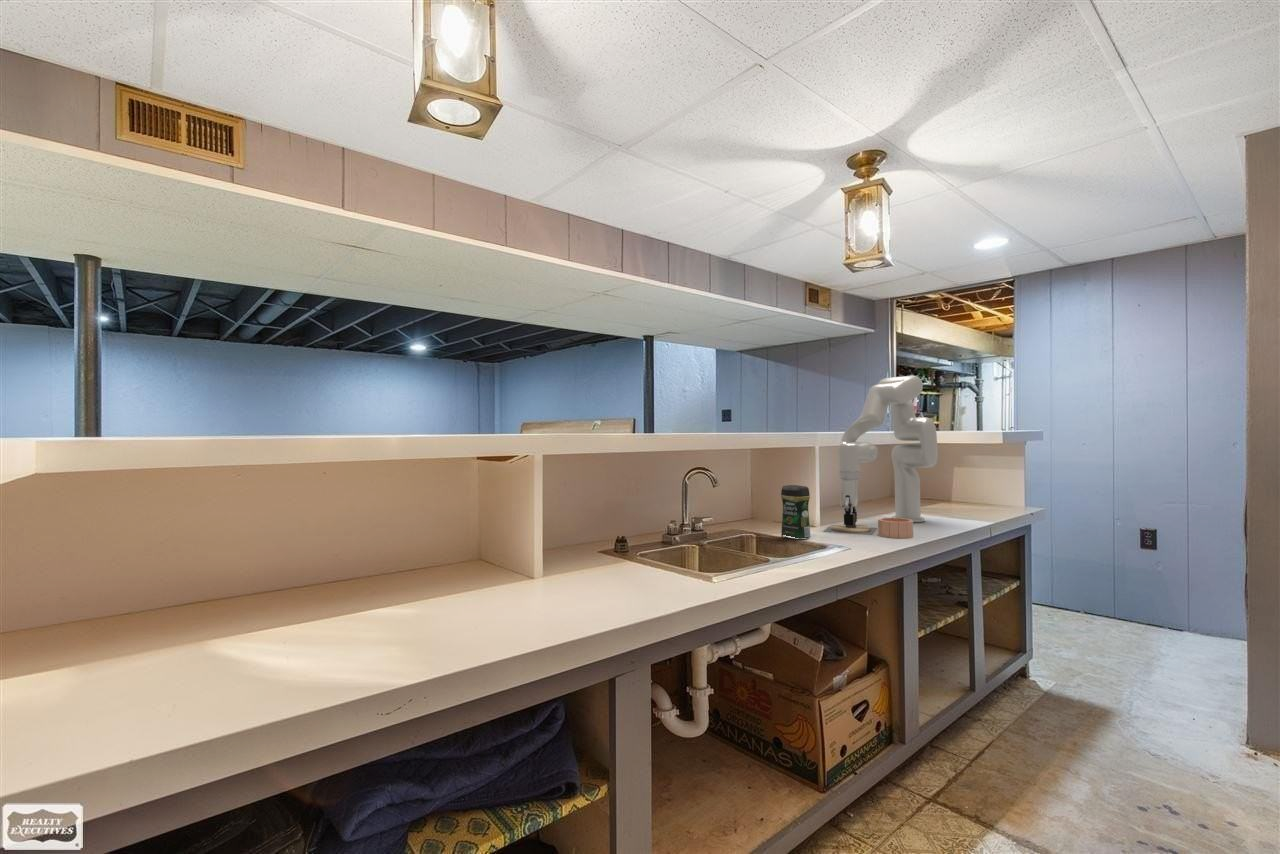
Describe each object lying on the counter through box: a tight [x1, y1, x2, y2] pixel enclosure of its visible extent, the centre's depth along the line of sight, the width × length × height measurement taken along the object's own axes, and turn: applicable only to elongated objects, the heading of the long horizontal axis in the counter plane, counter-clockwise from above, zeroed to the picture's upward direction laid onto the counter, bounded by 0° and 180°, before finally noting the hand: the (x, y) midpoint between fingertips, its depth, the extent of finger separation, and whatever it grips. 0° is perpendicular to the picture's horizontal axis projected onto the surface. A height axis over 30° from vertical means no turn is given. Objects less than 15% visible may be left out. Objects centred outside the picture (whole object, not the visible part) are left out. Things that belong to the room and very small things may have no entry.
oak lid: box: [830, 513, 871, 534], centre depth 219 cm, size 14×14×6 cm
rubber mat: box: [822, 524, 878, 536], centre depth 219 cm, size 17×17×1 cm
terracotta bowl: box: [877, 517, 914, 539], centre depth 206 cm, size 11×11×6 cm
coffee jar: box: [780, 484, 811, 539], centre depth 207 cm, size 10×8×19 cm
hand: (850, 523), depth 219 cm, fingers open, 7 cm apart
